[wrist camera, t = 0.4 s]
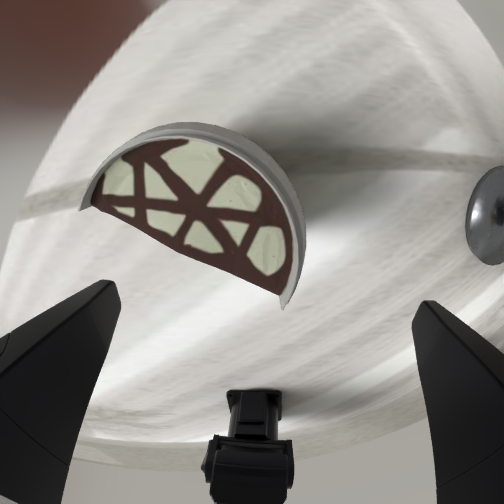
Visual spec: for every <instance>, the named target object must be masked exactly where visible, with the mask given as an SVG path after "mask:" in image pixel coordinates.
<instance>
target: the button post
mask: <svg viewBox="0 0 504 504" xmlns="http://www.w3.org/2000/svg"><path fill="white" fill-rule="evenodd" d="M465 227H466V238H467V242H468V245H469V247H470V249H471V251H472V253H473V254H474V255H475V256H476V257H477V258H479V259H480V260H481V261H482V262H483V263H485V264H488V265H498V264H501V263H503V262H504V166H499V167H495V168H493V169H491V170H489V171H488V172H487V173H486V174H485V175H484V176H483V177H482V178H481V179H480V180H479V182H478V183H477V185H476V187H475V189H474V191H473V193H472V195H471V198H470V201H469V204H468V209H467V214H466V225H465Z"/></svg>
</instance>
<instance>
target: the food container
mask: <svg viewBox="0 0 504 504" xmlns="http://www.w3.org/2000/svg"><path fill="white" fill-rule="evenodd" d="M91 206H94V207H96V208H97V209H99V210H100V211H102V212H105V213H108V214H110V215H113V216H115V217H117V218H119V219H121V220H122V221H124V222H126V223H128V224H130V225H132V226H134V227H136V228H137V229H139V230H141V231H143V232H144V233H146V234H148V235H149V236H151V237H152V238H154V239H156V240H157V241H159V242H161V243H162V244H164V245H166V246H168V247H169V248H171V249H173V250H175V251H176V252H178V253H181V254H183V255H185V256H188V257H190V258H193V259H195V260H198V261H200V262H203V263H206V264H208V265H211V266H214V267H216V268H219V269H221V270H224V271H226V272H229V273H231V274H233V275H235V276H237V277H239V278H242V279H244V280H246V281H248V282H250V283H252V284H255V285H257V286H259V287H261V288H263V289H266V290H268V291H270V292H272V293H274V294H276V295H279V298H280V304H281V309H282V310H283V309H284V308H285V306H286V304H288V302H289V300H290V299H291V297H292V295H293V293H294V292H295V289H296V286H297V284H298V281H299V278H300V275H301V271H302V267H303V263H304V257H305V250H306V224H305V219H304V214H303V209H302V206H301V203H300V201H299V198H298V196H297V193H296V190H295V189H294V187H293V185H292V183H291V182H290V180H289V178H288V177H287V175H286V173H285V172H284V171H283V170H282V168H281V167H280V166H279V165H278V164H277V163H276V161H275V160H274V159H273V158H272V157H271V156H270V155H269V154H268V153H266V152H265V151H264V150H263V149H262V148H260V147H259V146H258V145H257V144H256V143H254V142H252V141H251V140H249V139H247V138H245V137H244V136H242V135H240V134H238V133H236V132H234V131H231V130H228V129H225V128H222V127H220V126H216V125H211V124H205V123H198V122H179V123H172V124H167V125H162V126H158V127H155V128H153V129H150V130H148V131H145V132H143V133H141V134H139V135H137V136H136V137H134V138H133V139H131V140H130V141H128V142H126V143H125V144H123V145H122V146H120V147H119V148H118V149H116V150H115V151H114V152H113V153H112V154H111V155H110V156H108V157H107V158H106V159H105V160H104V161H103V162H102V164H101V165H100V166H99V168H98V169H97V171H96V172H95V173H94V175H93V176H92V178H91V180H90V181H89V183H88V185H87V187H86V189H85V191H84V194H83V196H82V198H81V202H80V205H79V209H78V211H81V210H83V209H86V208H88V207H91Z"/></svg>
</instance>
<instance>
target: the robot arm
mask: <svg viewBox="0 0 504 504" xmlns="http://www.w3.org/2000/svg"><path fill="white" fill-rule="evenodd" d="M120 311H121V301H120V297H119V294H118V291H117V287H116V284H115V282H114V281H111V280H99V281H98V282H96V283H94V284H92V285H90V286H89V287H87V288H85V289H83V290H81V291H80V292H78V293H76V294H74V295H72V296H71V297H69V298H67V299H65V300H64V301H62V302H60V303H58V304H57V305H55V306H53V307H51V308H50V309H48V310H46V311H44V312H43V313H41V314H39V315H38V316H36V317H34V318H33V319H31V320H29V321H28V322H26V323H24V324H23V325H21V326H19V327H18V328H16V329H14V330H13V331H11V333H8V334H6V335H5V336H3V337H1V338H0V504H61V501H62V496H63V491H64V487H65V483H66V479H67V474H68V471H69V466H70V462H71V459H72V455H73V451H74V448H75V445H76V441H77V438H78V435H79V431H80V428H81V425H82V422H83V419H84V416H85V413H86V410H87V407H88V404H89V401H90V398H91V395H92V393H93V390H94V387H95V384H96V382H97V379H98V376H99V374H100V371H101V369H102V366H103V363H104V361H105V358H106V356H107V353H108V350H109V347H110V344H111V340H112V337H113V333H114V330H115V327H116V324H117V320H118V317H119V314H120ZM412 333H413V339H414V345H415V351H416V358H417V365H418V371H419V376H420V380H421V385H422V389H423V394H424V399H425V404H426V409H427V415H428V421H429V427H430V433H431V440H432V447H433V455H434V464H435V475H436V487H437V489H436V492H437V504H504V354H503V353H502V352H500V351H499V350H498V349H497V348H496V347H494V346H493V345H492V344H491V343H489V342H488V341H487V340H486V339H484V338H483V337H482V336H481V335H479V334H478V333H477V332H476V331H474V330H473V329H472V328H470V327H469V326H468V325H467V324H465V323H464V322H463V321H461V320H460V319H459V318H457V317H456V316H455V315H453V314H452V313H451V312H449V311H448V310H447V309H445V308H444V307H443V306H441V305H440V304H439V303H437V302H436V301H433V300H425V301H422V302H421V304H420V306H419V308H418V310H417V312H416V314H415V317H414V319H413V321H412ZM226 396H227V400H228V404H229V409H230V413H231V418H230V425H229V432H228V437H226V436H219V435H215V434H214V437H213V440H209V445H208V450H207V453H206V456H205V458H204V461H203V463H202V466H201V470H202V471H203V472H204V473H205V477H206V483H211V484H210V496H211V497H212V500H213V502H214V504H283V503H284V502H285V500H286V498H287V489H291V488H292V485H293V480H294V458H293V448H292V440H278V421H280V420H281V399H282V393H281V392H279V391H227V395H226Z"/></svg>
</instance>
